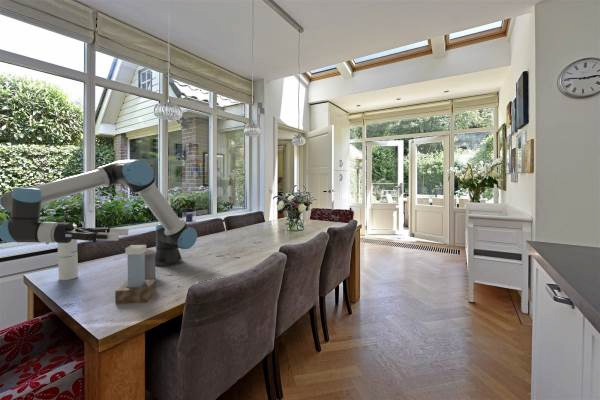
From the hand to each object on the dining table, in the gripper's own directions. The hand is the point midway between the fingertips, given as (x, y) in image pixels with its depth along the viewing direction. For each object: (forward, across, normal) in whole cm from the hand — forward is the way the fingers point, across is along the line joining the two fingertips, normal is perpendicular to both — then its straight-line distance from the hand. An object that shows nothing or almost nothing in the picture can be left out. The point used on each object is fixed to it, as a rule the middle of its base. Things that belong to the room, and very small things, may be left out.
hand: (123, 234), depth 111 cm
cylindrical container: (-30, -36, -26) cm, 54 cm away
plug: (+6, 0, -25) cm, 26 cm away
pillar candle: (+5, -23, -25) cm, 34 cm away
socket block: (+6, 0, -26) cm, 27 cm away
